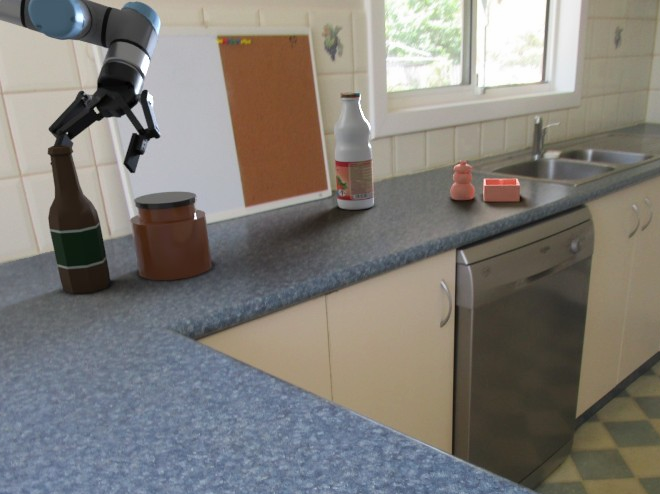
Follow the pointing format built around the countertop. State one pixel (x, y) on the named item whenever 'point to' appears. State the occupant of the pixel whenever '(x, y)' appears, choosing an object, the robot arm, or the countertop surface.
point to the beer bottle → (75, 229)
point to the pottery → (492, 187)
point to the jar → (170, 236)
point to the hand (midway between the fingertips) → (92, 168)
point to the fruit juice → (353, 156)
